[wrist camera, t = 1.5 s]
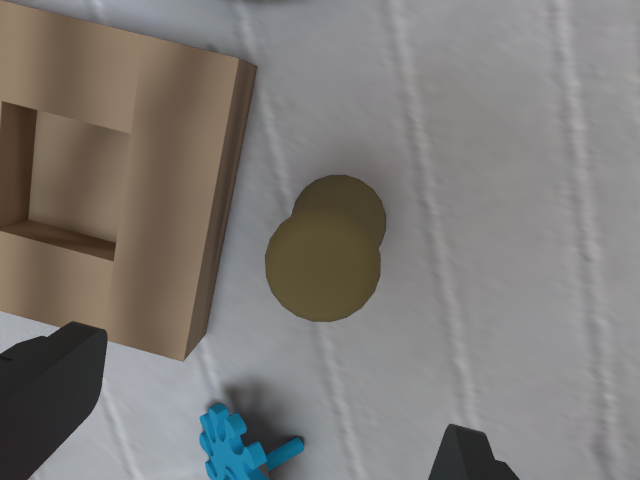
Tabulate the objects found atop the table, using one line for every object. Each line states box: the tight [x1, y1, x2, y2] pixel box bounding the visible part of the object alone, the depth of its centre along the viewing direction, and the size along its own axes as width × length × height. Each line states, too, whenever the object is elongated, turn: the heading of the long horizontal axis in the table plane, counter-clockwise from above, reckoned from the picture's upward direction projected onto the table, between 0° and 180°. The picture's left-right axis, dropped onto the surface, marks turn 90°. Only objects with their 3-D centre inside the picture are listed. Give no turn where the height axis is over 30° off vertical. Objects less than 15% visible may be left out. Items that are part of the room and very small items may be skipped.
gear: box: [200, 403, 304, 480], centre depth 33 cm, size 11×6×10 cm
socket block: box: [0, 0, 257, 362], centre depth 30 cm, size 18×18×4 cm
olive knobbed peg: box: [265, 175, 386, 322], centre depth 26 cm, size 6×6×11 cm
